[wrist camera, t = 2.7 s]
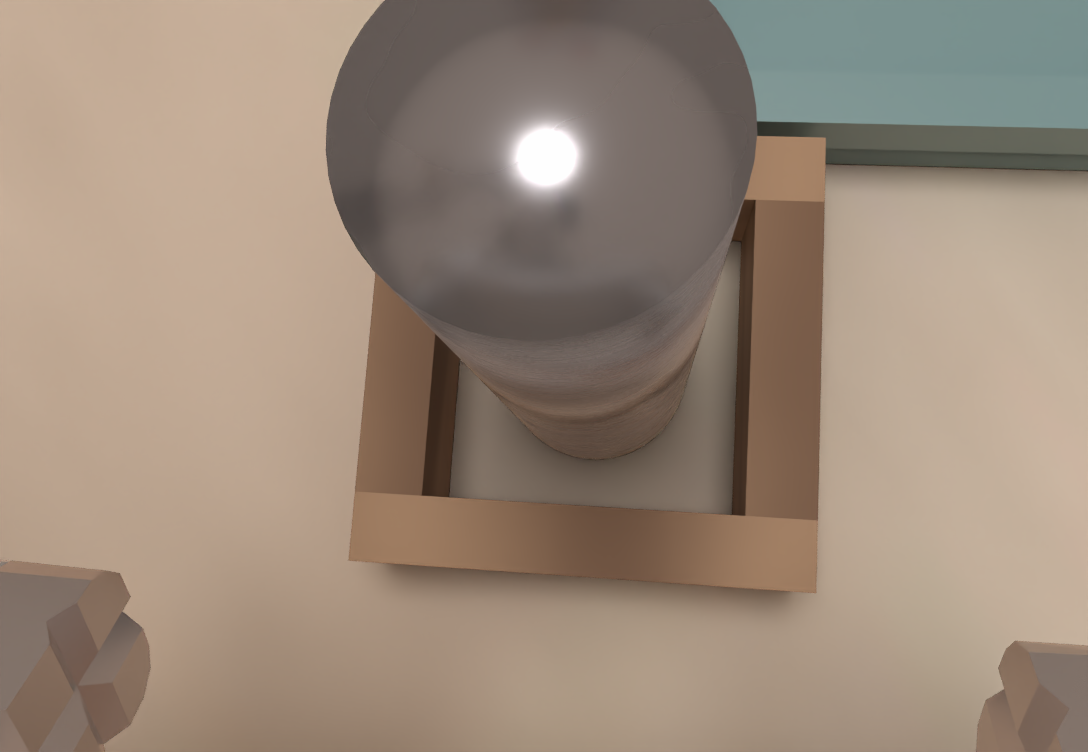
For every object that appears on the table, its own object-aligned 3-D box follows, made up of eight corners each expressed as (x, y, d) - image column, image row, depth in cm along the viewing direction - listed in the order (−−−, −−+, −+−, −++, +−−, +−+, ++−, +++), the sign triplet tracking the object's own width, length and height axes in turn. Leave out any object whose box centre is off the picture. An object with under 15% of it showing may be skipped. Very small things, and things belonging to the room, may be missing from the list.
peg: (501, 454, 20) (305, 330, 8) (513, 280, 20) (346, -71, 9) (681, 464, 20) (750, 351, 8) (689, 287, 20) (762, -69, 8)
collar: (384, 557, 20) (348, 560, 17) (418, 175, 21) (389, 127, 19) (792, 585, 19) (816, 593, 17) (802, 186, 20) (825, 137, 18)
